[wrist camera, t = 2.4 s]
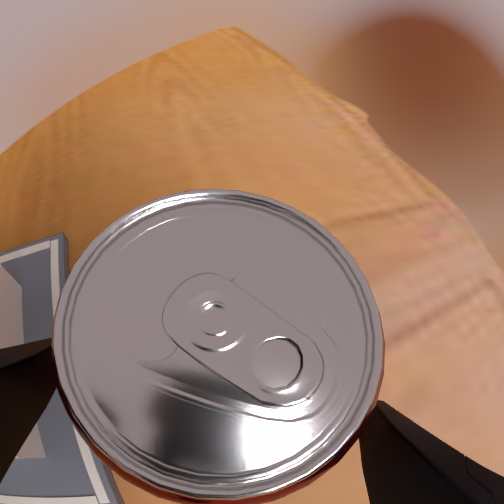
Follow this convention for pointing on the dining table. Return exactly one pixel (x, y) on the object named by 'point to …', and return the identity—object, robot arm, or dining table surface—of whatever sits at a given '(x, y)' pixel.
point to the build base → (55, 416)
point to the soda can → (217, 348)
